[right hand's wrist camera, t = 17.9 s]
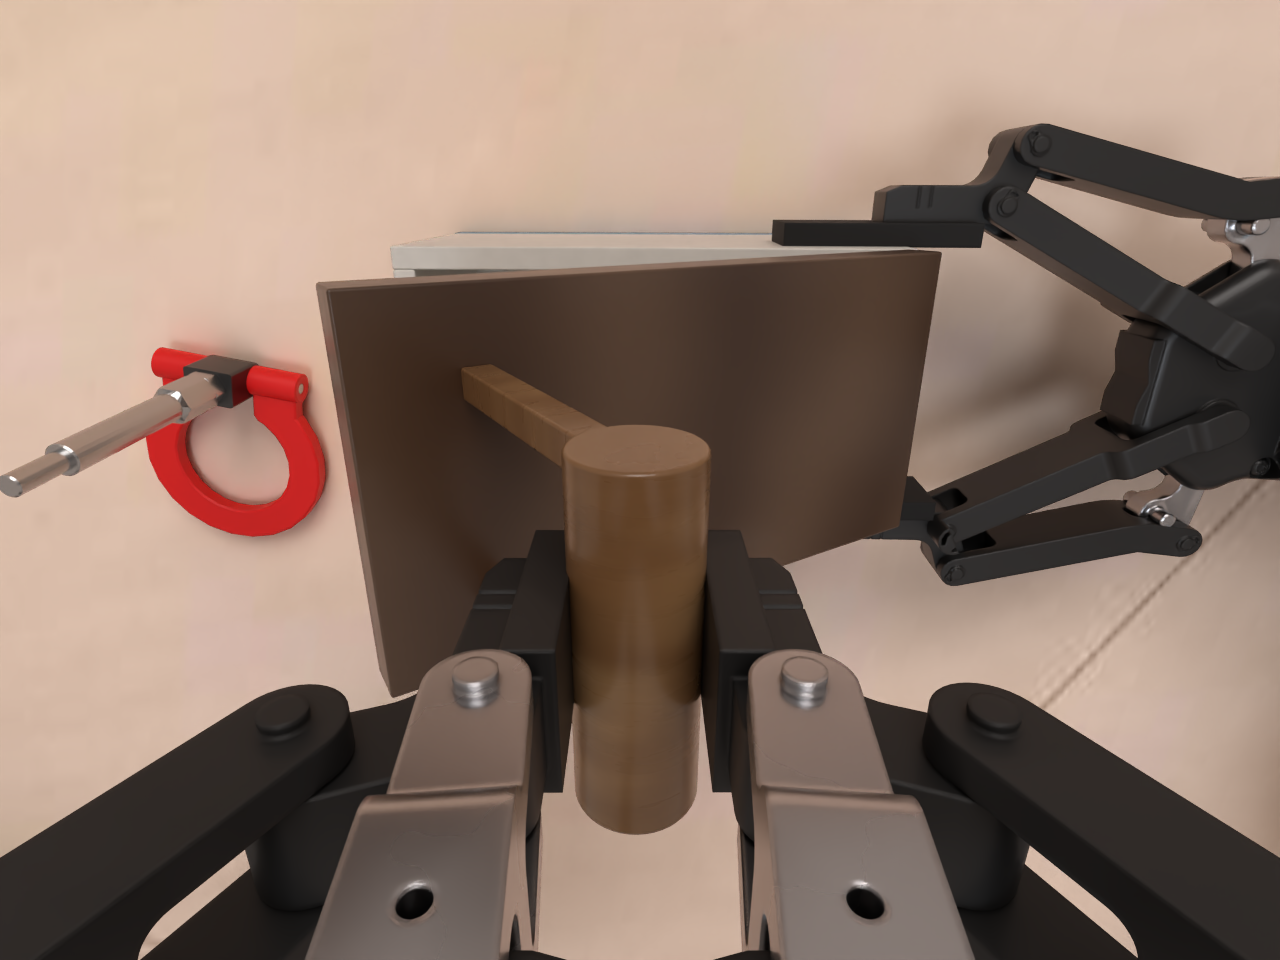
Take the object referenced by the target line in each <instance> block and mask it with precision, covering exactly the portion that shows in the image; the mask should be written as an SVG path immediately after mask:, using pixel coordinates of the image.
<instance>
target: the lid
mask: <svg viewBox="0 0 1280 960" xmlns="http://www.w3.org/2000/svg"><path fill="white" fill-rule="evenodd" d="M941 255H942V254H941V252H937V251H924V250H911V249H906V250H888V251H870V252H852V253H834V254H816V255H798V256H780V257H762V258H745V259H727V260H709V261H691V262H673V263H655V264H637V265H619V266H601V267H583V268H565V269H547V270H529V271H511V272H493V273H475V274H457V275H439V276H421V277H403V278H385V279H368V280H350V281H332V282H318V283H317V284H316V290H317V296H318V302H319V308H320V314H321V320H322V326H323V332H324V338H325V344H326V350H327V356H328V362H329V368H330V374H331V380H332V386H333V392H334V398H335V404H336V410H337V416H338V422H339V428H340V434H341V440H342V446H343V452H344V459H345V465H346V471H347V477H348V483H349V489H350V495H351V501H352V507H353V513H354V519H355V525H356V531H357V537H358V543H359V549H360V555H361V561H362V567H363V573H364V579H365V585H366V591H367V597H368V603H369V609H370V615H371V621H372V627H373V633H374V639H375V645H376V651H377V657H378V663H379V669H380V672H381V674H382V677H383V679H384V681H385V683H386V686H387V688H388V690H389V692H390V695H391V696H392V697H393V698H395V697H398V696H401V695H404V694H406V693H409V692H412V691H415V690H418V689H419V686H420V683H421V681H422V679H423V677H424V676H425V675H426V673H427V672H428V671H429V670H430V669H431V668H432V667H434V666H435V665H436V664H438V663H439V662H441V661H443V660H444V659H446V658H448V657H451V656H452V654H453V652H454V650H455V647H456V645H457V642H458V640H459V637H460V635H461V632H462V630H463V628H464V625H465V623H466V620H467V618H468V615H469V613H470V610H471V609H473V603H474V601H475V598H476V596H477V594H479V589H480V586H481V584H482V581H483V579H484V576H485V574H486V573H487V572H488V571H489V570H490V569H491V568H493V567H494V566H495V565H496V564H498V563H499V562H500V561H501V560H502V559H504V558H527V556H528V553H529V550H530V547H531V543H532V540H533V537H534V534H535V531H536V530H564V534H565V558H566V572H567V575H568V577H569V595H570V618H571V641H572V665H573V688H574V708H573V715H572V724H573V747H574V770H575V791H576V796H577V799H578V802H579V804H580V805H581V807H582V809H583V810H584V811H585V813H586V814H587V815H588V816H589V817H590V818H591V819H592V820H593V821H595V822H596V823H597V824H599V825H601V826H602V827H604V828H606V829H609V830H612V831H615V832H618V833H623V834H634V835H639V834H649V833H654V832H657V831H660V830H663V829H665V828H668V827H670V826H671V825H673V824H675V823H676V822H677V821H679V820H680V819H681V818H682V817H683V816H684V815H685V814H686V813H687V812H688V810H689V809H690V807H691V806H692V804H693V802H694V800H695V796H696V792H697V777H698V754H699V731H700V708H701V677H702V654H703V630H704V606H705V582H706V568H707V545H708V530H740V531H741V533H742V537H743V540H744V543H745V547H746V550H747V553H748V556H749V558H773V559H774V560H775V561H776V562H777V563H779V564H780V565H781V566H784V565H787V564H790V563H793V562H796V561H798V560H801V559H804V558H807V557H810V556H813V555H816V554H819V553H822V552H825V551H828V550H831V549H834V548H837V547H840V546H843V545H846V544H849V543H852V542H854V541H857V540H860V539H863V538H866V537H869V536H872V535H875V534H878V533H881V532H884V531H887V530H890V529H893V528H896V527H898V526H899V523H900V517H901V511H902V504H903V498H904V491H905V485H906V479H907V472H908V466H909V459H910V453H911V447H912V440H913V434H914V427H915V421H916V415H917V408H918V402H919V396H920V389H921V383H922V376H923V370H924V364H925V357H926V351H927V344H928V338H929V332H930V325H931V319H932V312H933V306H934V300H935V293H936V287H937V280H938V274H939V268H940V261H941Z"/></svg>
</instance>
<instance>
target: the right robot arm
mask: <svg viewBox="0 0 1280 960" xmlns="http://www.w3.org/2000/svg"><path fill="white" fill-rule="evenodd" d="M701 700H702V708H703V716H704V724H705V733H706V741H707V749H708V757H709V766H710V774H711V782H712V790H713V792H732V798H733V805H734V812H735V816H736V820H737V822H738V835H737V847H738V870H739V893H740V915H741V938H742V952H740V953H737V954H733V955H729V956H726V957H722V958H718V959H715V960H1280V858H1279V857H1278V856H1276V855H1274V854H1273V853H1271V852H1270V851H1268V850H1266V849H1265V848H1263V847H1262V846H1260V845H1258V844H1257V843H1255V842H1254V841H1252V840H1250V839H1249V838H1247V837H1246V836H1244V835H1242V834H1241V833H1239V832H1238V831H1236V830H1234V829H1233V828H1231V827H1230V826H1228V825H1226V824H1225V823H1223V822H1222V821H1220V820H1218V819H1217V818H1215V817H1214V816H1212V815H1210V814H1209V813H1207V812H1206V811H1204V810H1202V809H1201V808H1199V807H1198V806H1196V805H1194V804H1193V803H1191V802H1190V801H1188V800H1186V799H1185V798H1183V797H1182V796H1180V795H1178V794H1177V793H1175V792H1174V791H1172V790H1170V789H1169V788H1167V787H1166V786H1164V785H1162V784H1161V783H1159V782H1158V781H1156V780H1154V779H1153V778H1151V777H1150V776H1148V775H1146V774H1145V773H1143V772H1142V771H1140V770H1138V769H1137V768H1135V767H1134V766H1132V765H1130V764H1129V763H1127V762H1126V761H1124V760H1122V759H1121V758H1119V757H1117V756H1116V755H1114V754H1113V753H1111V752H1109V751H1108V750H1106V749H1105V748H1103V747H1101V746H1100V745H1098V744H1097V743H1095V742H1093V741H1092V740H1090V739H1089V738H1087V737H1085V736H1084V735H1082V734H1081V733H1079V732H1077V731H1076V730H1074V729H1073V728H1071V727H1069V726H1068V725H1066V724H1065V723H1063V722H1061V721H1060V720H1058V719H1057V718H1055V717H1053V716H1052V715H1050V714H1049V713H1047V712H1045V711H1044V710H1042V709H1041V708H1039V707H1037V706H1036V705H1034V704H1033V703H1031V702H1029V701H1028V700H1026V699H1024V698H1022V697H1021V696H1018V695H1016V694H1014V693H1012V692H1010V691H1007V690H1004V689H1001V688H998V687H994V686H990V685H985V684H979V683H956V684H950V685H947V686H944V687H942V688H940V689H938V690H937V691H936V692H935V693H934V694H933V695H932V697H931V698H930V701H929V706H928V711H927V713H926V712H921V711H917V710H912V709H907V708H903V707H898V706H894V705H889V704H885V703H881V702H877V701H875V700H872V699H869V698H866V697H864V696H863V693H862V690H861V687H860V684H859V681H858V679H857V678H856V676H855V675H854V673H853V672H852V671H851V670H850V669H849V668H848V667H846V666H845V665H844V664H842V663H841V662H839V661H837V660H836V659H834V658H832V657H829V656H827V655H825V654H822V651H821V649H820V646H819V644H818V641H817V639H816V636H815V634H814V631H813V629H812V626H811V624H810V621H809V619H808V616H807V614H806V611H805V609H803V604H802V601H801V599H800V596H799V594H797V589H796V586H795V584H794V581H793V579H792V576H791V574H790V572H788V571H787V570H786V569H785V568H784V567H782V566H781V565H780V564H779V563H777V562H776V561H775V560H774V559H773V558H749V556H748V553H747V550H746V547H745V543H744V540H743V537H742V533H741V531H740V530H708V545H707V568H706V582H705V606H704V630H703V654H702V677H701ZM573 708H574V688H573V665H572V641H571V618H570V595H569V577H568V575H567V572H566V558H565V534H564V530H536V531H535V534H534V537H533V540H532V543H531V547H530V550H529V553H528V556H527V558H504V559H502V560H501V561H500V562H499V563H498V564H496V565H495V566H494V567H493V568H491V569H490V570H489V571H488V572H487V573H486V574H485V576H484V579H483V581H482V584H481V586H480V589H479V594H477V596H476V598H475V601H474V603H473V609H471V610H470V613H469V615H468V618H467V620H466V623H465V625H464V628H463V630H462V632H461V635H460V637H459V640H458V642H457V645H456V647H455V650H454V652H453V654H452V656H451V657H448V658H446V659H444V660H443V661H441V662H439V663H438V664H436V665H435V666H434V667H432V668H431V669H430V670H429V671H428V672H427V673H426V675H425V676H424V677H423V679H422V681H421V683H420V686H419V689H418V693H417V694H415V695H413V696H411V697H409V698H406V699H404V700H401V701H398V702H395V703H391V704H387V705H382V706H378V707H373V708H369V709H364V710H359V711H355V712H350V711H349V706H348V701H347V699H346V698H345V696H344V695H343V694H342V693H341V692H339V691H338V690H336V689H334V688H331V687H328V686H323V685H313V684H307V685H297V686H291V687H286V688H282V689H278V690H276V691H273V692H270V693H267V694H265V695H263V696H260V697H258V698H256V699H254V700H253V701H251V702H249V703H247V704H246V705H244V706H243V707H241V708H239V709H238V710H236V711H235V712H233V713H231V714H230V715H228V716H227V717H225V718H223V719H222V720H220V721H219V722H217V723H215V724H214V725H212V726H211V727H209V728H207V729H206V730H204V731H203V732H201V733H199V734H198V735H196V736H194V737H193V738H191V739H190V740H188V741H186V742H185V743H183V744H182V745H180V746H178V747H177V748H175V749H174V750H172V751H170V752H169V753H167V754H166V755H164V756H162V757H161V758H159V759H158V760H156V761H154V762H153V763H151V764H150V765H148V766H146V767H145V768H143V769H142V770H140V771H138V772H137V773H135V774H134V775H132V776H130V777H129V778H127V779H126V780H124V781H122V782H121V783H119V784H118V785H116V786H114V787H113V788H111V789H110V790H108V791H106V792H105V793H103V794H102V795H100V796H98V797H97V798H95V799H94V800H92V801H90V802H89V803H87V804H86V805H84V806H82V807H81V808H79V809H78V810H76V811H74V812H73V813H71V814H70V815H68V816H66V817H65V818H63V819H62V820H60V821H58V822H57V823H55V824H54V825H52V826H50V827H49V828H47V829H46V830H44V831H42V832H41V833H39V834H38V835H36V836H34V837H33V838H31V839H30V840H28V841H26V842H25V843H23V844H22V845H20V846H18V847H17V848H15V849H14V850H12V851H10V852H9V853H7V854H6V855H4V856H2V857H1V858H0V960H138V956H139V952H140V949H141V946H142V944H143V942H144V940H145V938H146V936H147V935H148V933H149V932H150V930H151V929H152V928H153V926H154V925H155V924H156V923H157V922H158V921H159V919H160V918H161V917H162V916H163V915H164V914H166V913H167V912H168V911H169V910H170V909H171V908H173V907H174V906H175V905H176V904H178V903H179V902H180V901H181V900H183V899H184V898H185V897H186V896H188V895H189V894H190V893H191V892H193V891H194V890H195V889H196V888H198V887H199V886H200V885H201V884H202V883H204V882H205V881H206V880H207V879H209V878H210V877H211V876H212V875H214V874H215V873H216V872H217V871H219V870H220V869H221V868H222V867H224V866H225V865H226V864H227V863H229V862H230V861H231V860H232V859H234V858H235V857H236V856H237V855H239V854H240V853H241V852H242V851H244V850H245V851H246V855H247V858H248V862H249V865H250V869H249V870H248V871H246V872H245V873H244V874H243V875H242V876H240V877H239V878H238V879H237V880H236V881H234V882H233V883H232V884H231V885H230V886H228V887H227V888H226V889H225V890H224V891H222V892H221V893H220V894H219V895H218V896H216V897H215V898H214V899H213V900H212V901H210V902H209V903H208V904H207V905H206V906H204V907H203V908H202V909H201V910H200V911H198V912H197V913H196V914H195V915H194V916H192V917H191V918H190V919H189V920H188V921H186V922H185V923H184V924H183V925H182V926H180V927H179V928H178V929H177V930H176V931H174V932H173V933H172V934H171V935H170V936H168V937H167V938H166V939H165V940H164V941H162V942H161V943H160V944H159V945H158V946H156V947H155V948H154V949H153V950H152V951H150V952H149V953H148V954H147V955H146V956H144V957H143V958H142V959H141V960H565V959H562V958H558V957H554V956H551V955H547V954H543V953H540V952H538V936H539V913H540V890H541V868H542V845H543V837H542V822H541V805H542V798H543V793H563V785H564V778H565V770H566V762H567V754H568V746H569V739H570V731H571V723H572V715H573ZM1029 846H1031V847H1033V848H1034V849H1035V850H1036V851H1038V852H1039V853H1040V854H1041V855H1043V856H1044V857H1045V858H1046V859H1048V860H1049V861H1050V862H1051V863H1053V864H1054V865H1055V866H1056V867H1058V868H1059V869H1060V870H1061V871H1063V872H1064V873H1065V874H1066V875H1068V876H1069V877H1070V878H1071V879H1072V880H1074V881H1075V882H1076V883H1077V884H1079V885H1080V886H1081V887H1082V888H1084V889H1085V890H1086V891H1087V892H1089V893H1090V894H1091V895H1092V896H1094V897H1095V898H1096V899H1097V900H1099V901H1100V902H1101V903H1102V904H1104V905H1105V906H1106V907H1107V908H1108V909H1109V910H1111V911H1112V912H1113V913H1114V914H1115V915H1116V916H1117V917H1118V918H1119V920H1120V921H1121V922H1122V923H1123V925H1124V926H1125V927H1126V929H1127V930H1128V932H1129V934H1130V935H1131V937H1132V939H1133V941H1134V944H1135V947H1136V949H1137V954H1138V958H1137V957H1136V956H1134V955H1133V954H1132V953H1131V952H1130V951H1128V950H1127V949H1126V948H1125V947H1124V946H1122V945H1121V944H1120V943H1119V942H1118V941H1116V940H1115V939H1114V938H1113V937H1112V936H1110V935H1109V934H1108V933H1107V932H1106V931H1104V930H1103V929H1102V928H1101V927H1100V926H1098V925H1097V924H1096V923H1095V922H1094V921H1092V920H1091V919H1090V918H1089V917H1088V916H1086V915H1085V914H1084V913H1083V912H1082V911H1080V910H1079V909H1078V908H1077V907H1076V906H1074V905H1073V904H1072V903H1071V902H1070V901H1068V900H1067V899H1066V898H1065V897H1064V896H1062V895H1061V894H1060V893H1059V892H1058V891H1056V890H1055V889H1054V888H1053V887H1052V886H1050V885H1049V884H1048V883H1047V882H1046V881H1044V880H1043V879H1042V878H1041V877H1040V876H1038V875H1037V874H1036V873H1035V872H1034V871H1032V870H1031V869H1030V868H1029V867H1027V866H1026V865H1025V861H1026V857H1027V853H1028V850H1029Z"/></svg>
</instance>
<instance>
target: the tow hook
mask: <svg viewBox="0 0 1280 960" xmlns="http://www.w3.org/2000/svg"><path fill="white" fill-rule="evenodd" d="M151 367H152V371H153V373H154V374H155V375H156V376H158V377H162V379H163V386H162V387H160V388H159V389H158V390H157V392H156V394H155V395H154V397H153V398H151V399H149V400H147V401H145V402H142V403H140V404H138V405H136V406H134V407H132V408H130V409H127V410H125V411H123V412H121V413H119V414H117V415H114V416H112V417H110V418H108V419H106V420H104V421H101V422H99V423H97V424H95V425H93V426H91V427H89V428H86V429H84V430H82V431H80V432H78V433H76V434H73V435H71V436H69V437H67V438H65V439H63V440H60V441H58V442H56V443H54V444H52V445H50V446H48V447H47V449H46V451H45V455H44V456H42V457H40V458H38V459H36V460H34V461H31V462H29V463H27V464H25V465H23V466H21V467H19V468H17V469H15V470H12V471H10V472H8V473H6V474H4V475H2V476H0V490H1V491H2V492H3V493H4V494H6V495H8V496H10V497H19V496H21V495H23V494H25V493H27V492H29V491H30V490H32V489H34V488H36V487H38V486H40V485H42V484H44V483H46V482H48V481H50V480H52V479H54V478H55V477H57V476H59V475H65V476H72V475H75V474H77V473H79V472H81V471H83V470H85V469H87V468H88V467H90V466H92V465H94V464H96V463H98V462H100V461H102V460H103V459H105V458H107V457H109V456H111V455H113V454H115V453H117V452H119V451H120V450H122V449H124V448H126V447H128V446H130V445H132V444H134V443H135V442H137V441H139V440H141V439H143V438H145V437H146V441H147V447H148V453H149V459H150V461H151V463H152V465H153V468H154V470H155V472H156V474H157V477H158V479H159V480H160V482H161V483H162V484H163V486H164V487H165V488H166V490H167V491H168V493H169V494H170V495H171V497H172V498H173V499H174V500H175V501H177V502H178V503H179V504H180V505H181V506H182V507H183V508H184V509H185V510H186V511H188V512H189V513H190V514H191V515H193V516H195V517H196V518H198V519H200V520H201V521H203V522H205V523H206V524H208V525H210V526H212V527H215V528H218V529H220V530H223V531H226V532H229V533H231V534H238V535H245V536H252V537H254V536H266V535H274V534H277V533H279V532H282V531H285V530H287V529H290V528H292V527H293V526H294V525H296V524H297V523H298V522H300V521H301V520H302V519H303V518H305V517H306V516H307V515H308V514H309V513H310V512H311V511H312V509H313V508H314V506H315V505H316V503H317V501H318V500H319V498H320V497H321V494H322V490H323V486H324V482H325V462H324V456H323V453H322V450H321V447H320V444H319V441H318V438H317V436H316V434H315V433H314V431H313V430H312V428H311V426H310V425H309V423H308V422H307V420H306V418H305V417H304V416H303V408H302V402H303V401H304V400H305V398H306V396H307V393H308V378H307V376H306V375H304V374H299V373H294V372H289V371H283V370H278V369H273V368H268V367H262V366H259V365H258V364H257V363H253V362H248V361H243V360H237V359H232V358H227V357H222V356H216V355H210V356H205V355H200V354H195V353H189V352H184V351H179V350H174V349H168V348H163V347H162V348H159V349H157V350H156V351H155V353H154V354H153V357H152V361H151ZM252 396H253V403H254V416H255V417H256V419H257V420H258V421H259V422H261V423H262V424H264V425H265V426H266V427H267V428H268V429H269V430H270V431H271V432H272V433H273V434H274V435H275V436H276V438H277V439H278V441H279V442H280V444H281V445H282V447H283V448H284V451H285V454H286V457H287V459H288V462H289V474H290V476H289V480H288V485H287V488H286V490H285V491H284V493H283V494H282V496H281V497H280V498H279V499H278V500H275V501H273V502H270V503H267V504H262V505H247V504H240V503H237V502H234V501H231V500H229V499H226V498H224V497H222V496H221V495H219V494H218V493H216V492H214V491H213V490H211V489H210V488H209V487H208V486H207V485H206V484H205V483H204V482H203V481H202V480H201V479H200V478H199V476H198V475H197V473H196V472H195V471H194V469H193V468H192V466H191V463H190V461H189V458H188V456H187V452H186V445H185V438H186V432H187V428H188V426H189V424H190V422H191V420H192V419H194V418H195V417H197V416H199V415H201V414H203V413H205V412H206V411H208V410H209V409H212V408H214V407H216V406H221V407H226V408H233V407H235V406H237V405H238V404H240V403H242V402H244V401H245V400H247V399H249V398H251V397H252Z"/></svg>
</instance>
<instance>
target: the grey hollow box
mask: <svg viewBox="0 0 1280 960" xmlns="http://www.w3.org/2000/svg"><path fill="white" fill-rule="evenodd" d="M906 249H911V250H917V249H915V248H911V247H851V246H782V245H779V244H777V243H775V242H773V241H772V233H571V232H459V233H455V234H451V235H446V236H441V237H436V238H430V239H425V240H420V241H415V242H410V243H405V244H400V245H395V246H391V247H390V250H391V258H392V266H393V269H395V270H394V271H393V273H394V278H403V277H421V276H439V275H457V274H475V273H493V272H511V271H529V270H547V269H565V268H583V267H601V266H619V265H637V264H655V263H673V262H691V261H709V260H727V259H745V258H762V257H780V256H798V255H816V254H834V253H852V252H870V251H888V250H906Z"/></svg>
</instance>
